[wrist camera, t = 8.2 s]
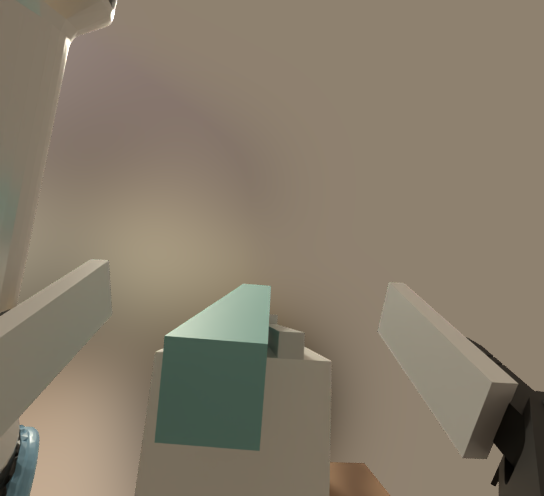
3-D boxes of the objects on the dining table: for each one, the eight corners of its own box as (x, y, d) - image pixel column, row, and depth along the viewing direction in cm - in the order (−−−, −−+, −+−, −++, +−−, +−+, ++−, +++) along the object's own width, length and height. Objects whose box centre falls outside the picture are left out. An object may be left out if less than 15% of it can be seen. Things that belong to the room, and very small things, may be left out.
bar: (154, 442, 8) (164, 335, 9) (241, 311, 32) (243, 283, 33) (259, 451, 8) (267, 343, 9) (268, 313, 32) (270, 285, 33)
